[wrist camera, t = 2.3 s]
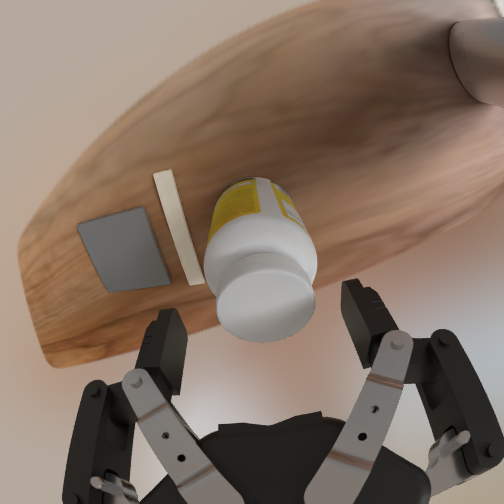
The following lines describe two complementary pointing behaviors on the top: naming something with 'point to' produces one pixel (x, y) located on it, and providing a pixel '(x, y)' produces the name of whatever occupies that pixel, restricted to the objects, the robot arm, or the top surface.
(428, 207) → the top surface
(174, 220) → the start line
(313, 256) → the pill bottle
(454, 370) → the robot arm
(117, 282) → the mat
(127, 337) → the top surface
